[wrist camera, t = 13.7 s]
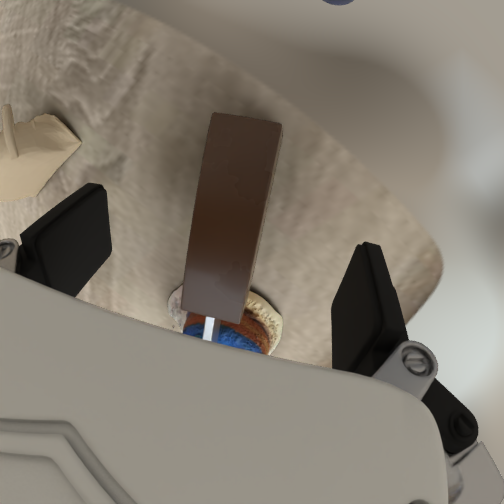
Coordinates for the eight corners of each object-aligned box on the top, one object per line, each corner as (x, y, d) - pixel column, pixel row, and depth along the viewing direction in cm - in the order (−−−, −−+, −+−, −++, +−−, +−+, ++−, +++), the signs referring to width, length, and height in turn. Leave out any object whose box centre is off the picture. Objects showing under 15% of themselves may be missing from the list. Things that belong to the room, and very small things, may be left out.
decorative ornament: (9, 154, 16) (-45, 185, 11) (67, 77, 12) (-6, 96, 8) (34, 197, 17) (-17, 236, 13) (98, 131, 14) (29, 164, 10)
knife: (227, 123, 13) (211, 111, 10) (283, 133, 13) (282, 123, 10) (181, 423, 18) (169, 454, 15) (217, 433, 18) (209, 465, 15)
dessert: (312, 338, 19) (257, 415, 16) (263, 329, 25) (219, 386, 22) (223, 251, 17) (151, 333, 14) (192, 262, 23) (139, 322, 20)
